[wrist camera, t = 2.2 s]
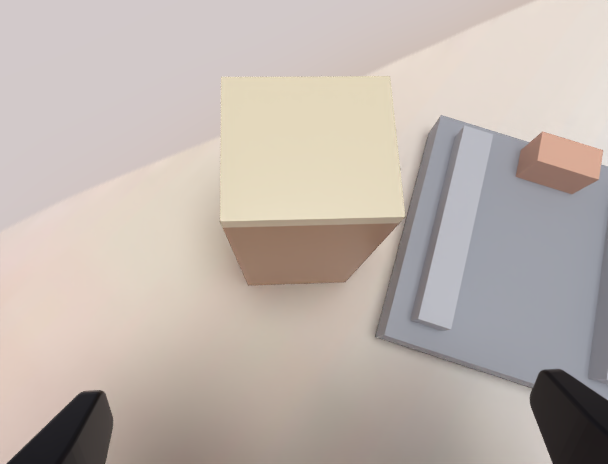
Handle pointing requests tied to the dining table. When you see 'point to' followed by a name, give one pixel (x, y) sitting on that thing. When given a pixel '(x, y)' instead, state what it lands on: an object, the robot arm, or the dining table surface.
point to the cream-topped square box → (307, 175)
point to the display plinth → (505, 256)
